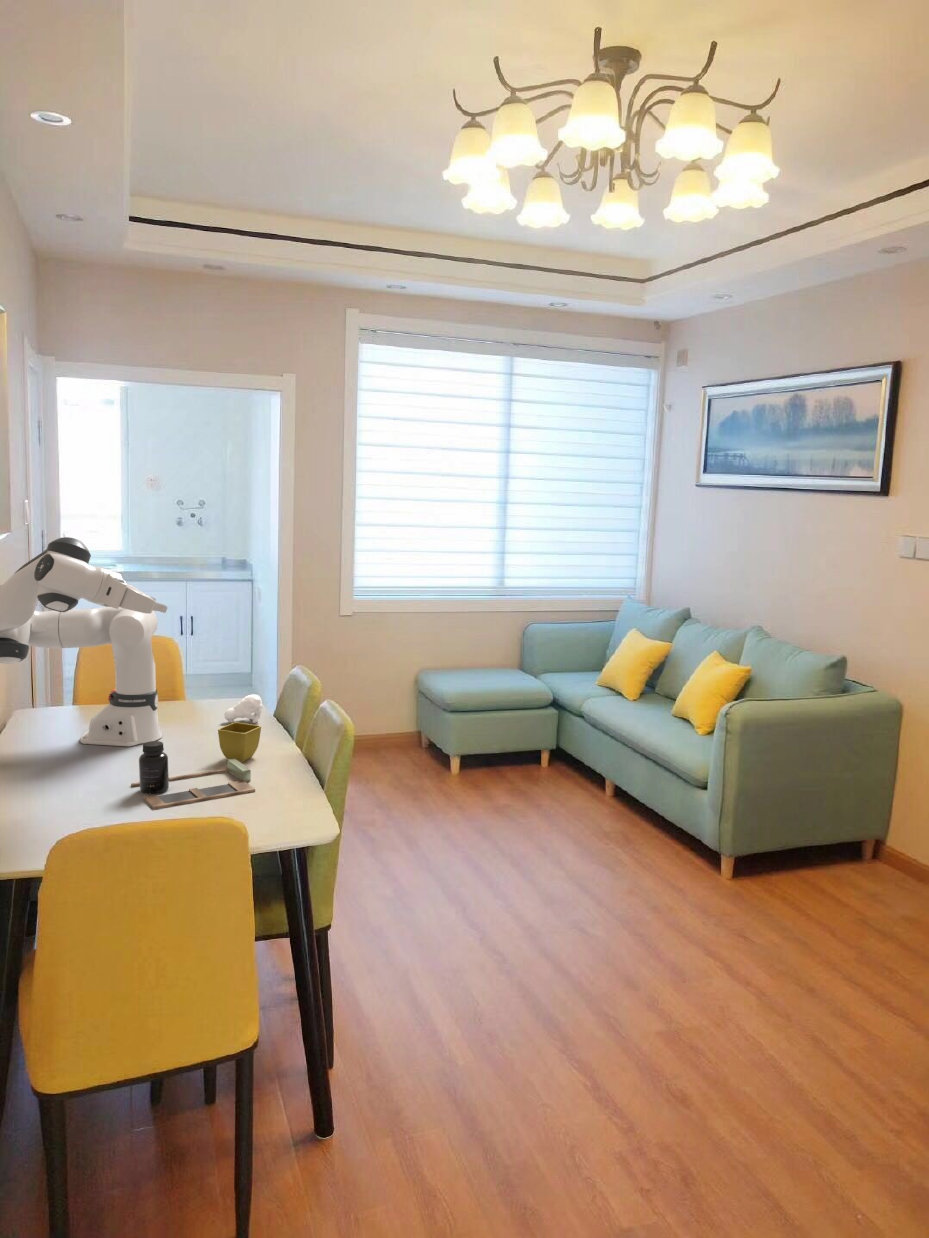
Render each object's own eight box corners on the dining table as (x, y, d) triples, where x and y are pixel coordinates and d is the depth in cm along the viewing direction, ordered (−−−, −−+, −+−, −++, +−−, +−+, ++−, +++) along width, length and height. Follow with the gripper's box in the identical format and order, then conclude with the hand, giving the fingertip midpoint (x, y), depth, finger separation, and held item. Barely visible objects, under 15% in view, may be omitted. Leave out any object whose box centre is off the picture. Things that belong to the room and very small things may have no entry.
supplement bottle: (143, 785, 230) (142, 739, 228) (171, 785, 230) (170, 739, 229) (136, 795, 223) (135, 747, 221) (165, 795, 224) (164, 747, 222)
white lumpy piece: (262, 695, 290) (224, 702, 285) (265, 721, 291) (227, 728, 287) (258, 691, 296) (221, 697, 291) (261, 716, 297) (224, 723, 293)
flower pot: (262, 756, 256) (262, 725, 255) (245, 765, 248) (244, 733, 247) (235, 752, 259) (234, 721, 258) (217, 761, 251) (216, 729, 250)
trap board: (153, 809, 214) (153, 797, 213) (131, 785, 229) (130, 774, 229) (262, 790, 229) (262, 778, 229) (234, 769, 245) (234, 758, 244)
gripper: (91, 592, 232) (143, 608, 241) (113, 608, 216) (167, 625, 225) (100, 568, 232) (152, 586, 241) (123, 583, 216) (177, 601, 225)
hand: (159, 605), depth 233 cm, fingers open, 8 cm apart
